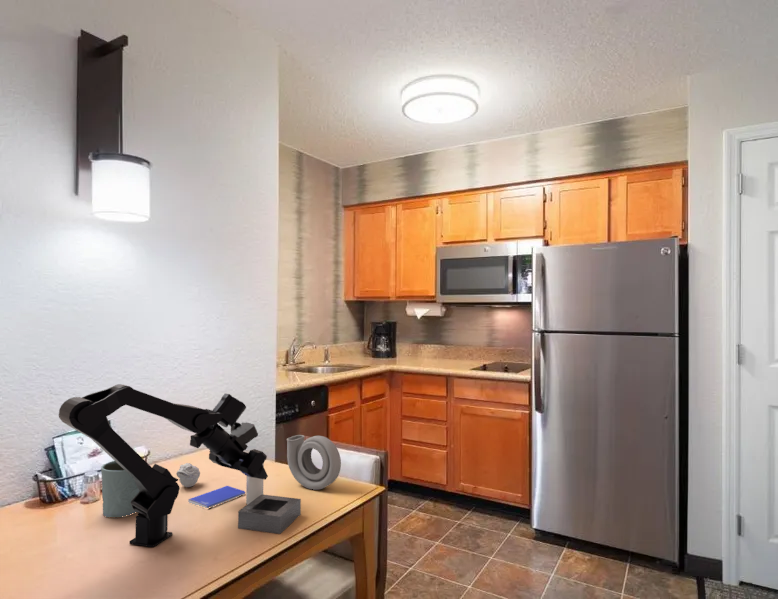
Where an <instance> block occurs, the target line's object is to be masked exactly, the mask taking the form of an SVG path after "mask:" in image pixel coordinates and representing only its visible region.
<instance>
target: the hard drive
mask: <svg viewBox="0 0 778 599" xmlns="http://www.w3.org/2000/svg"><path fill="white" fill-rule="evenodd" d="M244 494H245V495H246V491H245V490H243V489H238V488H236V487H232V486H230V485H225V486H222V487H219V488H217V489H214V490H211V491H208V492H205V493H203V494H200V495H196V496H193V497H190V498H188V500H187V502H189V503H188V504H190V503H192V504H191V505H193V504H195V505H194V506H196V505H199V506H202V507H205V508H209V507H213V506H215V505H218V504H221V503H223V504H225V503H224V502H226V501H228V502H230V501H229V500H231V501H233V500H232V499H234V498H236V497H239V496H241V495H244ZM245 495H244V496H245ZM241 497H242V496H241ZM239 498H240V497H239ZM236 499H237V498H236ZM234 500H235V499H234ZM226 503H227V502H226ZM221 505H222V504H221ZM218 506H219V505H218ZM213 508H214V507H213Z"/></svg>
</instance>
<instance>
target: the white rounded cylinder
mask: <svg viewBox="0 0 778 599" xmlns="http://www.w3.org/2000/svg"><path fill="white" fill-rule="evenodd" d="M264 463H265V462H264ZM264 463H263V467H264V466H265V464H264ZM264 468H265V467H264ZM264 481H265V480H264V479H259V478H253V477H249V476H246V487H245V488H246V491H245V495H246V497H245V499H246V500H245V501H246V502H245V504H247V505H248V504H249V503H250V502H252V501H253V500H255V499H256V498H257V497H259V496H260V495H261V494H263V495H264Z"/></svg>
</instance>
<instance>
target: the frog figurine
mask: <svg viewBox="0 0 778 599" xmlns="http://www.w3.org/2000/svg"><path fill="white" fill-rule="evenodd" d="M200 476H201V471H200V468H199V467H197V465H193V464H192V463H191V462H186V463H184V464H180V465H179V469H178V470H177V471H176V477H177V479H178V481H179V483H180V484H181V485H182V487H185V488H192V487H193V486H195V485H197V483H198V481H199V477H200Z"/></svg>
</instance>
